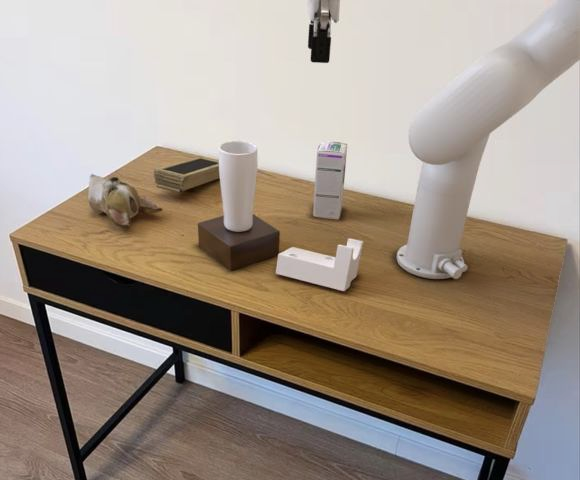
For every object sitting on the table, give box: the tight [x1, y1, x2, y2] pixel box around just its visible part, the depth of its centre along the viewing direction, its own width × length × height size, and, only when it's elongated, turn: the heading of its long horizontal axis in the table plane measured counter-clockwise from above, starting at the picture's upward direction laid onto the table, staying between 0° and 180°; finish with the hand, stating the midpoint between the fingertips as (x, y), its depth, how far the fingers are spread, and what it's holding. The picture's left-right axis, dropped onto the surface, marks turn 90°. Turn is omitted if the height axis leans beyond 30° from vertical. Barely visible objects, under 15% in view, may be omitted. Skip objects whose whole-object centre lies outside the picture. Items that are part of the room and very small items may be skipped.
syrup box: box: [312, 140, 348, 220], centre depth 132 cm, size 6×6×14 cm
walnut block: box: [197, 213, 281, 272], centre depth 120 cm, size 11×11×5 cm
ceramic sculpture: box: [87, 173, 164, 228], centre depth 127 cm, size 11×9×15 cm
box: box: [153, 155, 220, 194], centre depth 144 cm, size 8×22×5 cm, turn 157°
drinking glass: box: [218, 140, 259, 232], centre depth 114 cm, size 7×7×15 cm
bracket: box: [275, 237, 364, 292], centre depth 113 cm, size 13×7×8 cm, turn 67°
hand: (318, 55), depth 113 cm, fingers open, 9 cm apart
